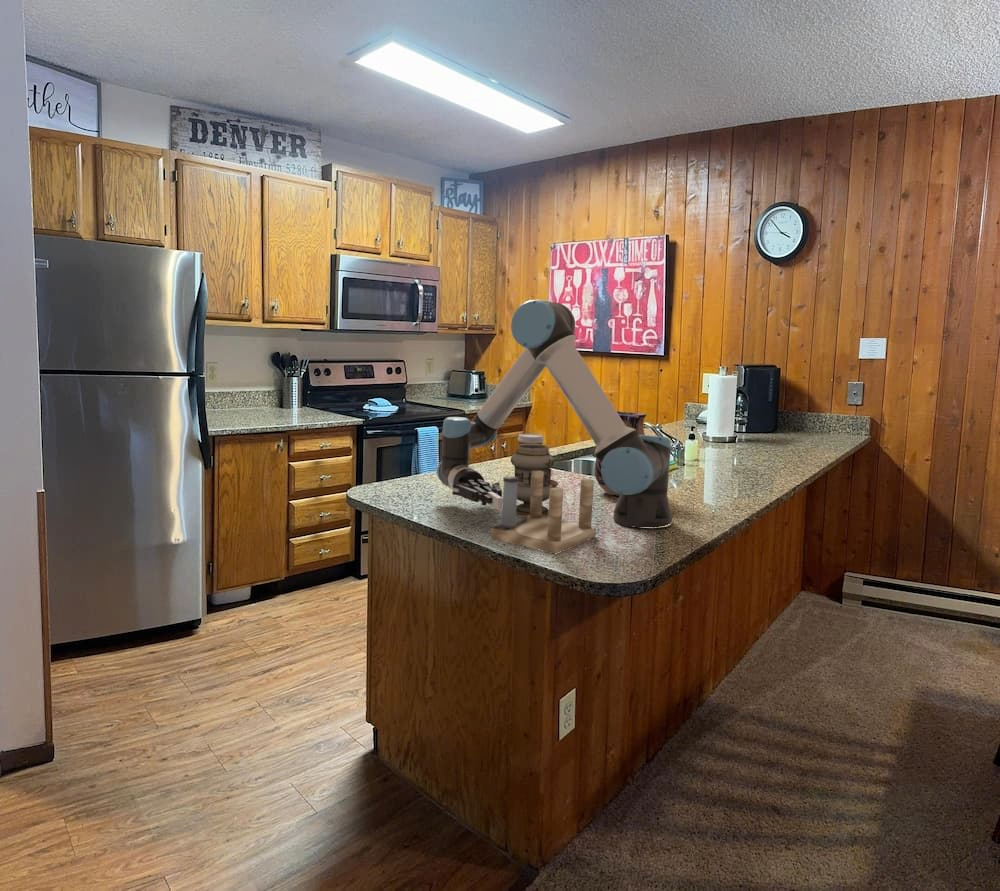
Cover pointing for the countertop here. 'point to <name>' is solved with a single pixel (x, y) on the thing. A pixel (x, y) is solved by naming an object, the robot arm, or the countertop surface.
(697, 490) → the countertop surface
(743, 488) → the countertop surface
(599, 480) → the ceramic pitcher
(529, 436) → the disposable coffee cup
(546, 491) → the apothecary jar
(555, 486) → the cup and saucer
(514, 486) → the folding leg
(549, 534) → the ash stool
